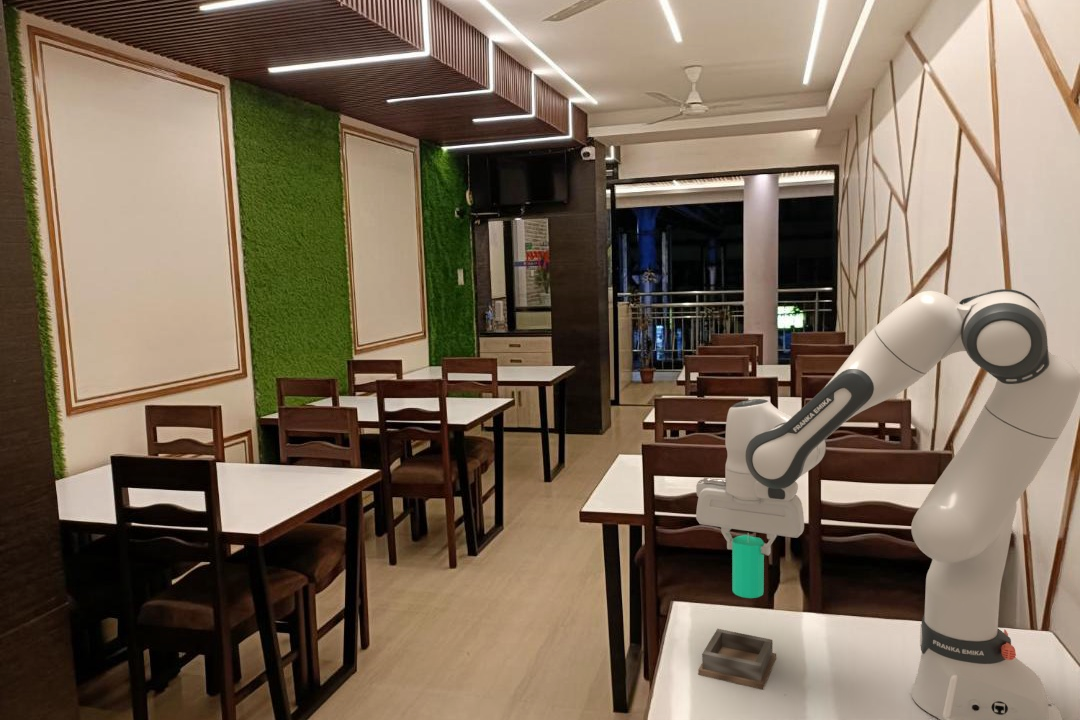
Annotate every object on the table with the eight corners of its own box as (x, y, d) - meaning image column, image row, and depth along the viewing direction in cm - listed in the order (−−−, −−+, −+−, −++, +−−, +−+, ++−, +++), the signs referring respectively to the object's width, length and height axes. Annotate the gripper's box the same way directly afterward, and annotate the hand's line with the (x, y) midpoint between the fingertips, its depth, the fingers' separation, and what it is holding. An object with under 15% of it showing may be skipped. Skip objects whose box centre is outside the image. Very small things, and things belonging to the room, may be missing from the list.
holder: (776, 658, 150) (776, 638, 150) (763, 689, 140) (763, 668, 139) (715, 645, 156) (715, 626, 155) (698, 674, 145) (698, 654, 145)
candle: (757, 600, 147) (757, 540, 145) (727, 593, 150) (727, 534, 149) (768, 589, 152) (768, 531, 150) (739, 582, 155) (739, 525, 154)
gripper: (691, 480, 150) (691, 548, 152) (800, 493, 140) (799, 565, 142) (701, 472, 156) (701, 538, 158) (806, 484, 146) (805, 553, 148)
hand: (748, 551), depth 150 cm, fingers closed on candle, 5 cm apart
